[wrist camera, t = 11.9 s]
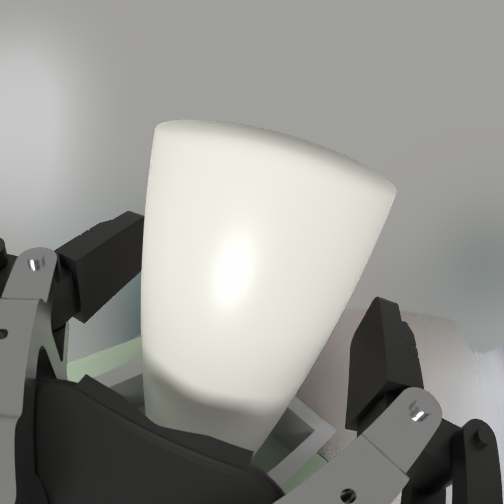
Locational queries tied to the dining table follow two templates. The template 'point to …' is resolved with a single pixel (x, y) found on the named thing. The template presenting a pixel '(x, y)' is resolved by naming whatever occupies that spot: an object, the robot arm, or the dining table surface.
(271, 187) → the spout tube
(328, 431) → the pale green toy car
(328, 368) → the dining table surface
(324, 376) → the dining table surface
